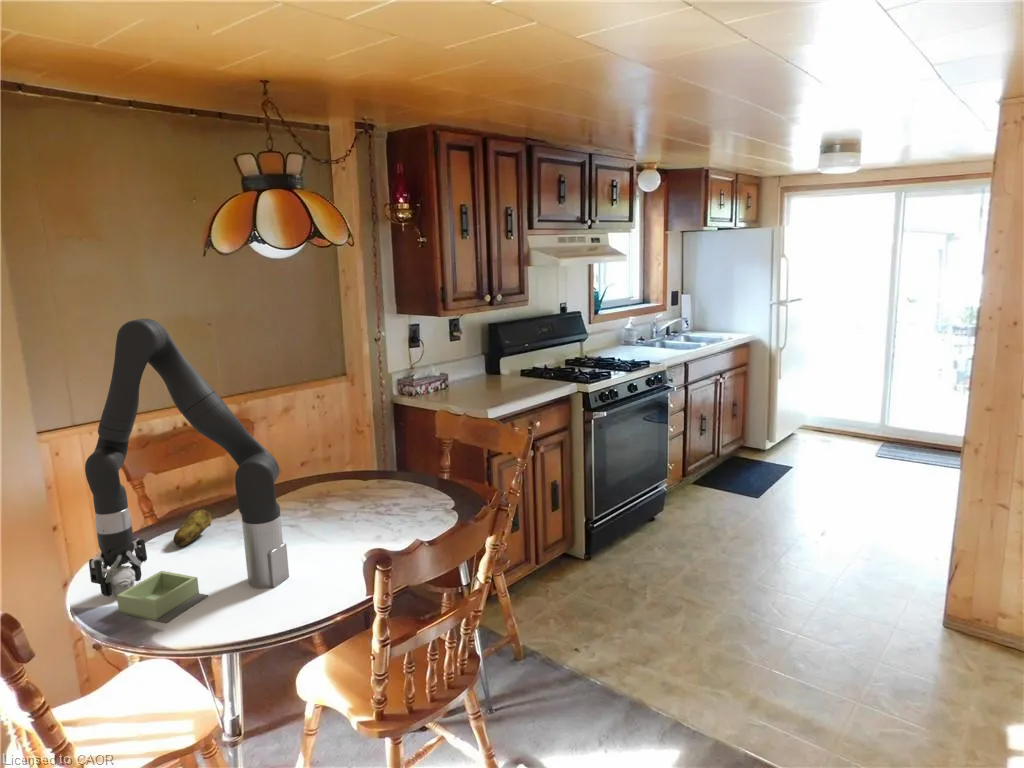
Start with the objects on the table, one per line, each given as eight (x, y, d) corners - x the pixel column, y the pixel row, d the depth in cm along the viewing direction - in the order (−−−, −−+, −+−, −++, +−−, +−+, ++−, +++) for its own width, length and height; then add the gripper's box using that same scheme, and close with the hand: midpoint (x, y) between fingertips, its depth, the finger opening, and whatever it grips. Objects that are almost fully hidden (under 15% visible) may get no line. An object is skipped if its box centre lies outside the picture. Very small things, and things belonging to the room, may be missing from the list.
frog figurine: (142, 586, 173) (139, 560, 172) (128, 600, 166) (124, 573, 165) (118, 587, 173) (115, 561, 172) (103, 601, 166) (99, 574, 165)
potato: (164, 544, 198) (161, 518, 197) (205, 529, 209) (202, 504, 207) (179, 551, 194) (176, 524, 192) (221, 535, 204) (218, 510, 202)
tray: (208, 596, 168) (206, 579, 167) (166, 623, 156) (164, 605, 155) (163, 587, 172) (161, 570, 172) (119, 613, 160) (116, 595, 160)
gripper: (99, 540, 158) (108, 604, 162) (149, 517, 172) (157, 577, 175) (76, 536, 161) (85, 599, 164) (127, 514, 174) (135, 572, 177)
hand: (122, 587), depth 169 cm, fingers open, 8 cm apart
